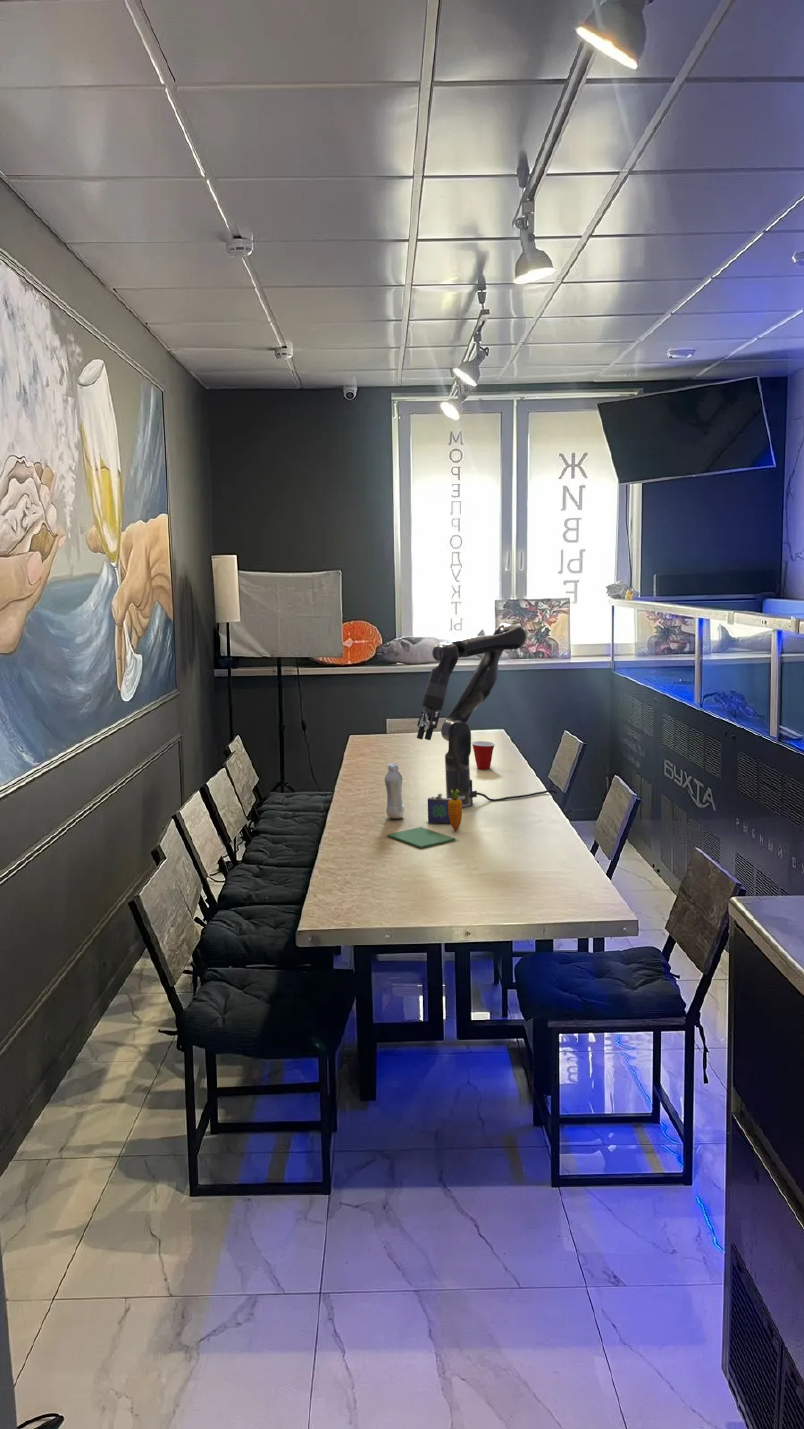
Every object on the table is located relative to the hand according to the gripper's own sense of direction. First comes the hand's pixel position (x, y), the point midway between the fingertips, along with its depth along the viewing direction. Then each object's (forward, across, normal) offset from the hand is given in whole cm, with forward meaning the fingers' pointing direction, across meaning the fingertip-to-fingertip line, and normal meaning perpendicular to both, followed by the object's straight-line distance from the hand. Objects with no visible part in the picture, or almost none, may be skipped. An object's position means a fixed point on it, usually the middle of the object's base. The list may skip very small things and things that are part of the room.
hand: (423, 739), depth 348 cm
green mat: (+34, -24, 0) cm, 42 cm away
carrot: (+29, -21, -12) cm, 38 cm away
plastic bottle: (+30, +6, 0) cm, 31 cm away
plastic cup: (+1, +73, -58) cm, 93 cm away
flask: (+28, -8, -12) cm, 31 cm away
